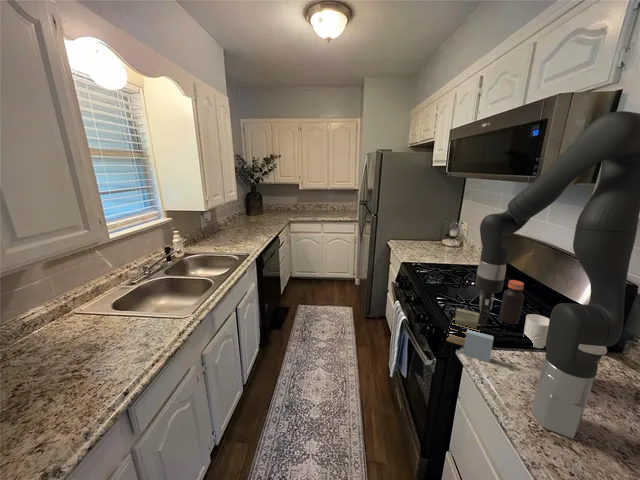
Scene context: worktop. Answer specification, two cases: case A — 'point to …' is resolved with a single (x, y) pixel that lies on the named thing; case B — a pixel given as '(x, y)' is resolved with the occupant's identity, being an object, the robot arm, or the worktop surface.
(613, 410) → the worktop surface
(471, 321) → the dish rack
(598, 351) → the coffee cup
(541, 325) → the white cup
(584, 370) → the robot arm
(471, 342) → the pale blue-grey block
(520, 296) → the bottle
